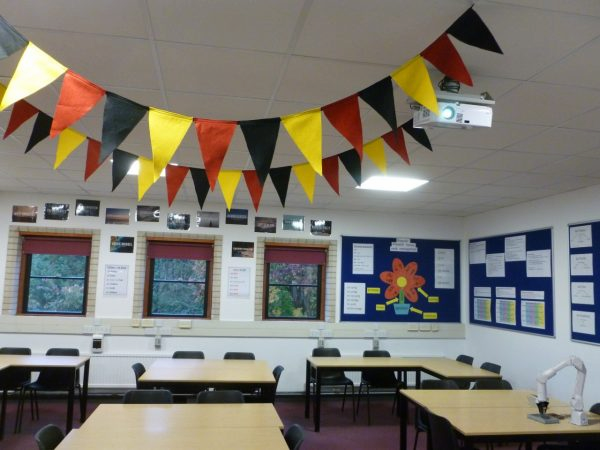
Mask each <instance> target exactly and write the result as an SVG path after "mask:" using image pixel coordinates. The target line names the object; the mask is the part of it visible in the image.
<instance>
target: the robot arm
mask: <svg viewBox="0 0 600 450" xmlns="http://www.w3.org/2000/svg"><path fill="white" fill-rule="evenodd" d="M566 367H574V368H575V369H576V370H577V374H576V381H575V385H574V389H573V390H574V391H573V394H572V396H571V398H570V400H569V405H570V418H571V419H570V420H568V421H567V422H568V423H570V424H573V425H575V426H579V427H583V426H584V427H585V426H589V425H590V424H589V423H588V422H589V421H588V419H589V418H588V414H587V413H586V412H585V411H584V407H585V405H584V400H583V399H584V397H583V395H584V389H585V383H586V377H587V368H586V365H585V362H584V361H583V360H582V359H581V358H580V357H578V356H576V355H574V354H573V355H570V356H568V357H566V358H565V359H564V360H562V361H561V362H559V363H558V364H556V365H555V366H554V367H546V370H544V371H543V372H542V371H541V372H540V373H537V375H536V377H535V379H536V382H537V383H536V384H537V385H536V390H537V391H536V392H537V394H536V395H538V398H536V400H535V403H536V405H537V407H536V408H537V410H538V413H542V414H543V408H544V406H545V407H546V409H545V414H546V413H547V410H548V409H547V407H548V408H549V404H550V402H549V401H550V397H548V394H547V383H548V381H549V380H550V379H553V377H555V376H556V375H557V372H559V371H561V370H562V369H564V368H566Z"/></svg>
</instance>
